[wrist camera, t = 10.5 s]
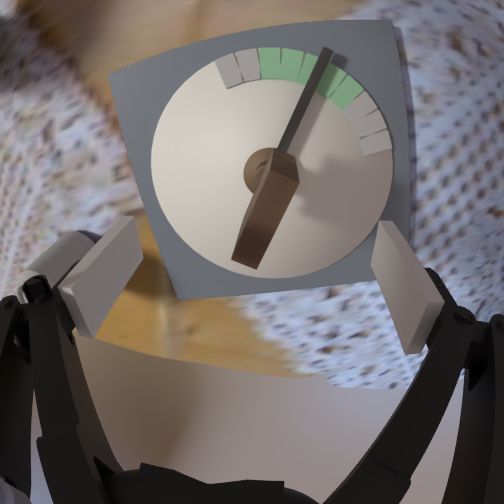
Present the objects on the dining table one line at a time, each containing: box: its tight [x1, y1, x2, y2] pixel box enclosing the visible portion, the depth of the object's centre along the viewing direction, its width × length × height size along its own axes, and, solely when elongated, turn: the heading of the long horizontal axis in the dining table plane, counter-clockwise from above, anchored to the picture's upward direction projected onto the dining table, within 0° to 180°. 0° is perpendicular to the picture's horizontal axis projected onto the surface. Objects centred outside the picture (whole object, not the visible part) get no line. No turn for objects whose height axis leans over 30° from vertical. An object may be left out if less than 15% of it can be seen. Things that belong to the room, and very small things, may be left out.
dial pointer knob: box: [231, 46, 333, 270], centre depth 20 cm, size 5×16×11 cm, turn 158°
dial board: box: [108, 20, 410, 300], centre depth 28 cm, size 28×28×2 cm
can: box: [16, 231, 95, 304], centre depth 32 cm, size 8×8×12 cm
